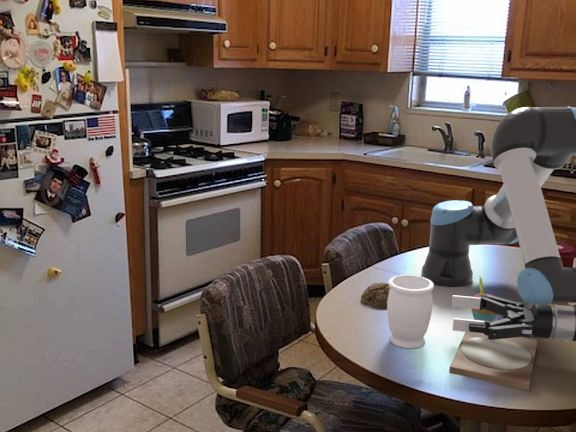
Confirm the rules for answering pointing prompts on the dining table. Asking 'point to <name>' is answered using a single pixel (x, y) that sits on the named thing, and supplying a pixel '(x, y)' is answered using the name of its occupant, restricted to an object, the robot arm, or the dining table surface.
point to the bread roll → (376, 295)
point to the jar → (409, 310)
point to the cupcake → (484, 313)
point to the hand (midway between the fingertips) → (452, 311)
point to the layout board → (495, 359)
